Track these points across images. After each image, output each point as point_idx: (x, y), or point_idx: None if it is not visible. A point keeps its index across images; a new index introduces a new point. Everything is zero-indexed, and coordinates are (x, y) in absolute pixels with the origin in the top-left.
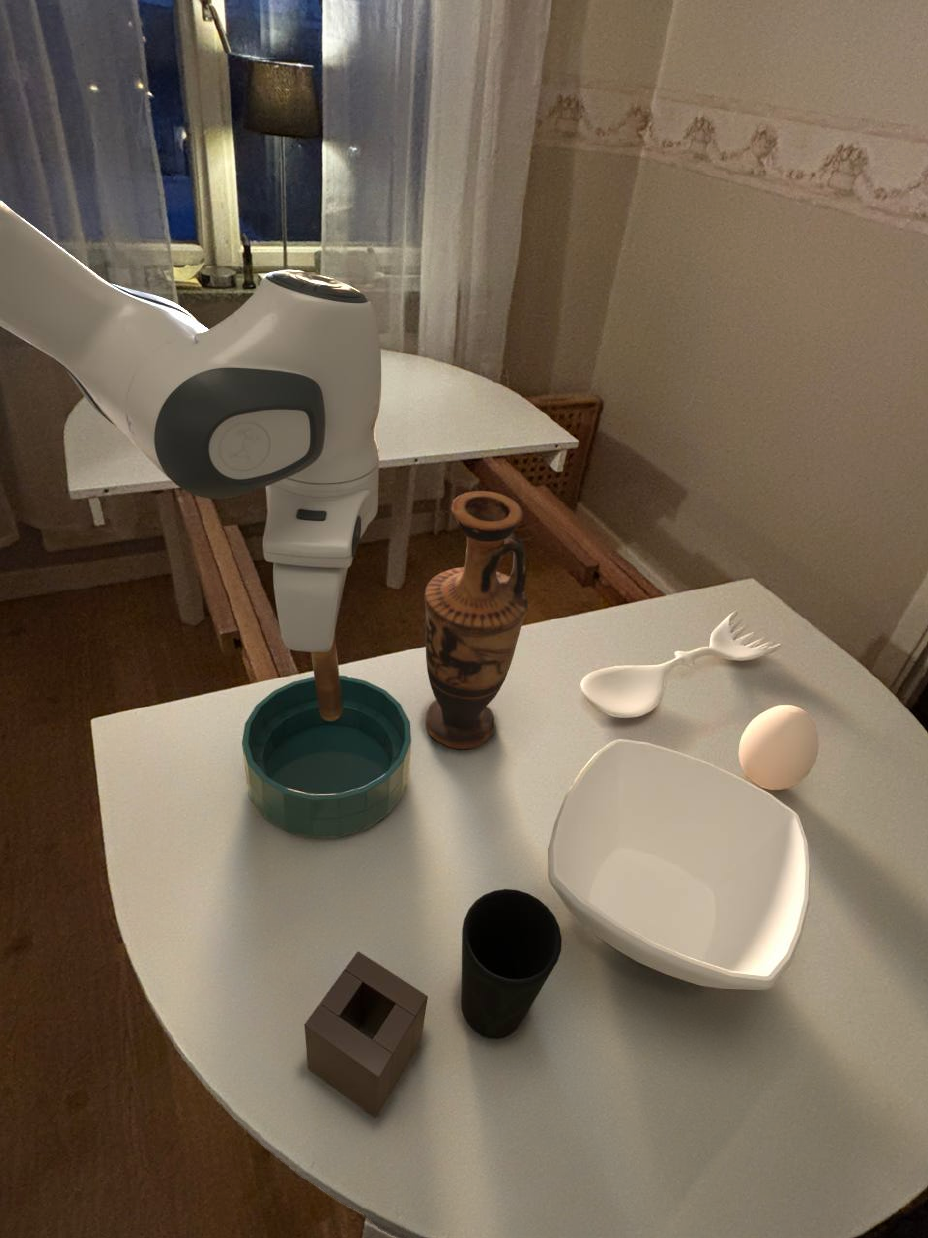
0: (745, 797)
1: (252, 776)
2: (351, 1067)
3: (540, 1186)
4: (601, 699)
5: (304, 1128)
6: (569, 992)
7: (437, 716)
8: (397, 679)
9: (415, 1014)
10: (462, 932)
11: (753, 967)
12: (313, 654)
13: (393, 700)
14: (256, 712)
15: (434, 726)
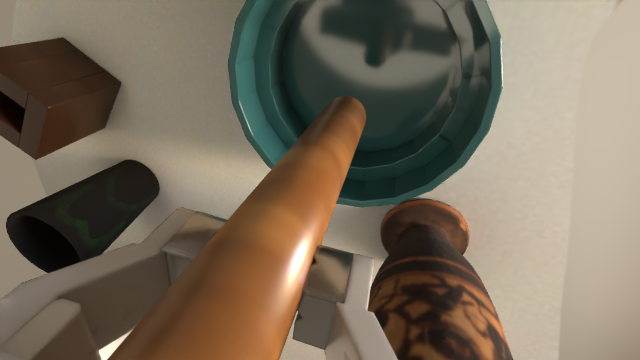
0: None
1: None
2: None
3: (53, 177)
4: None
5: (29, 34)
6: (156, 227)
7: (428, 218)
8: (533, 183)
9: (19, 147)
10: (31, 213)
11: (111, 346)
12: (286, 153)
13: (407, 196)
14: None
15: (413, 211)
